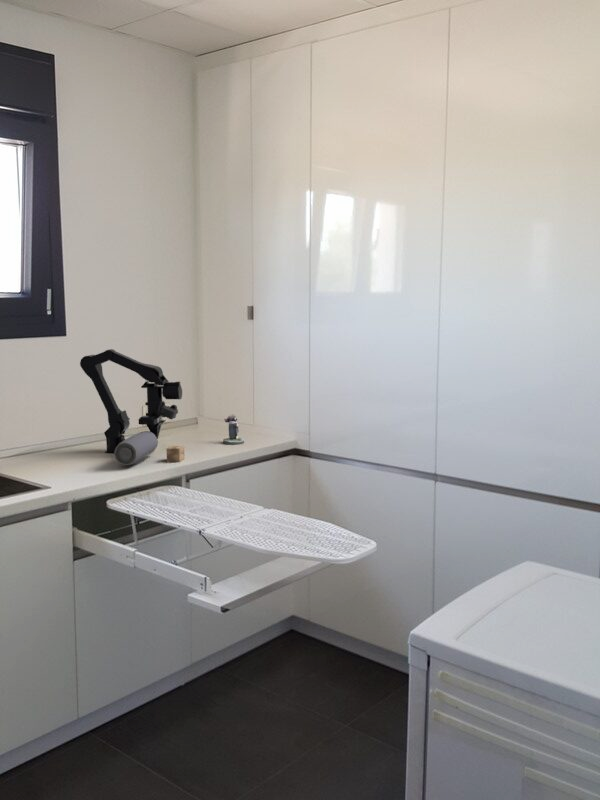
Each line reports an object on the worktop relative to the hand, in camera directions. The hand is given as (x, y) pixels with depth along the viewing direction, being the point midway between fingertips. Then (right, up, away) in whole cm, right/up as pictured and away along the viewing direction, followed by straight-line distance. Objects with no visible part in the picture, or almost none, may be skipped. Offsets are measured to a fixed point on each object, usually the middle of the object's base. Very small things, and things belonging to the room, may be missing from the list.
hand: (156, 439), depth 308 cm
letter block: (+10, -7, -15) cm, 19 cm away
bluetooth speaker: (-4, -8, -17) cm, 19 cm away
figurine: (+28, -3, +18) cm, 34 cm away
